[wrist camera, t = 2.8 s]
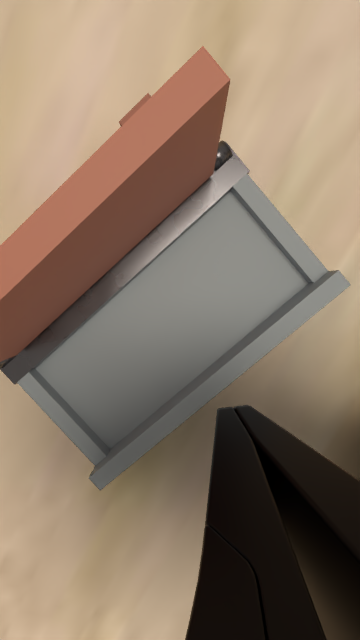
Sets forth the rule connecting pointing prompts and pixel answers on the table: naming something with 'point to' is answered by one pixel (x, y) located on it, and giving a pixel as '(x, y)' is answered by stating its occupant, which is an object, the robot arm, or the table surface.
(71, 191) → the panel
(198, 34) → the table surface
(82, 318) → the sill
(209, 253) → the tray
